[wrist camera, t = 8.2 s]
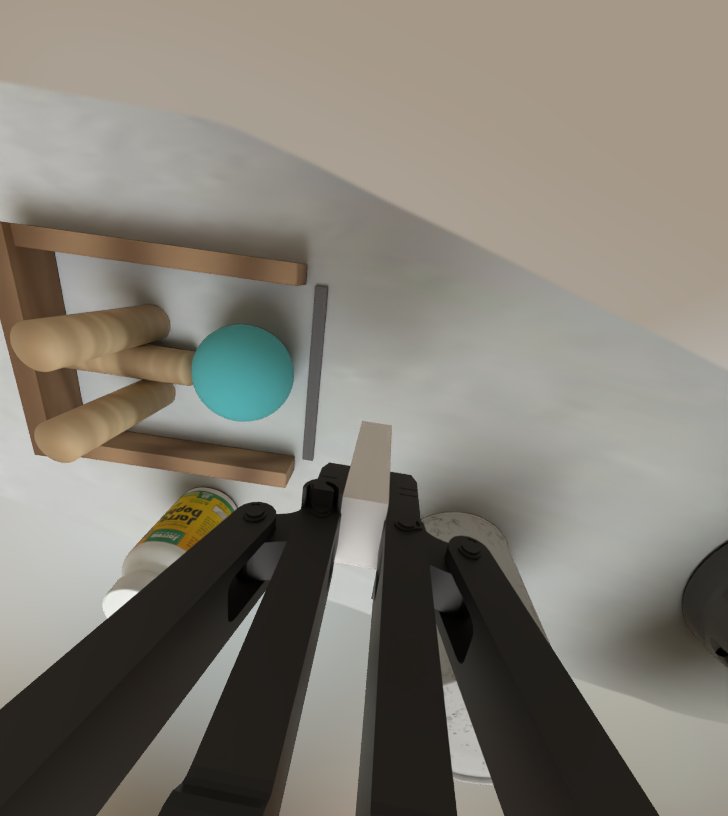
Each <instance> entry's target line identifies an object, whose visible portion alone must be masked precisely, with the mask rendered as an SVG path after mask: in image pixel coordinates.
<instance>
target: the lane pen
mask: <svg viewBox="0 0 728 816" xmlns="http://www.w3.org/2000/svg"><path fill="white" fill-rule="evenodd" d="M54 251H55V252H62V253H69V254H76V255H83V256H90V257H97V258H104V259H111V260H118V261H125V262H132V263H139V264H146V265H153V266H160V267H167V268H174V269H182V270H189V271H196V272H203V273H210V274H217V275H224V276H231V277H238V278H245V279H252V280H259V281H266V282H273V283H280V284H287V285H294V286H299V285H306V276H307V265H306V264H299V263H292V262H285V261H278V260H271V259H264V258H257V257H250V256H243V255H236V254H228V253H221V252H214V251H207V250H200V249H193V248H186V247H179V246H172V245H165V244H158V243H150V242H143V241H136V240H129V239H122V238H115V237H108V236H101V235H94V234H87V233H80V232H72V231H65V230H58V229H51V228H44V227H37V226H30V225H23V224H15V223H8V222H1V221H0V320H1V324H2V328H3V332H4V336H5V340H6V344H7V347H8V351H9V355H10V359H11V363H12V367H13V371H14V375H15V379H16V383H17V387H18V391H19V394H20V398H21V402H22V406H23V410H24V414H25V418H26V422H27V426H28V430H29V434H30V438H31V442H32V445H33V449H34V453H35V455H41V456H46V455H45V454H44V453H43V452H42V451H41V450H40V449H39V447H38V446H37V444H36V441H35V437H34V432H35V429H36V427H37V426H38V425H39V424H40V423H42V422H44V421H47V420H49V419H51V418H54V417H56V416H58V415H61V414H63V413H65V412H68V411H70V410H72V409H75V408H77V407H79V406H82V400H81V394H80V389H79V383H78V378H77V373H76V369H70V368H65V367H64V368H60V369H57V370H53V371H50V372H41V371H37V370H34V369H32V368H30V367H28V366H27V365H25V364H24V363H23V362H22V361H21V360H20V359H19V358H18V357H17V355H16V354H15V352H14V350H13V348H12V345H11V342H10V332H11V329H12V327H13V326H14V325H15V324H16V323H18V322H20V321H23V320H31V319H39V318H47V317H55V316H63V315H66V313H65V308H64V302H63V297H62V292H61V286H60V281H59V275H58V270H57V265H56V259H55V254H54ZM82 457H83V458H90V459H96V460H103V461H109V462H116V463H123V464H129V465H136V466H143V467H149V468H156V469H162V470H169V471H176V472H182V473H189V474H196V475H202V476H209V477H216V478H222V479H229V480H235V481H242V482H249V483H255V484H262V485H269V486H275V487H282V488H285V487H286V485H287V483H288V481H289V479H290V477H291V475H292V473H293V471H294V462H295V457H293V456H287V455H280V454H273V453H267V452H260V451H253V450H246V449H240V448H233V447H226V446H220V445H213V444H206V443H200V442H193V441H186V440H180V439H173V438H166V437H159V436H153V435H146V434H139V433H133V432H126V431H124V432H122V433H120V434H119V435H117V436H115V437H114V438H112V439H110V440H108V441H107V442H105V443H103V444H102V445H100V446H98V447H97V448H95V449H93V450H92V451H90V452H88V453H87V454H85V455H83V456H82Z"/></svg>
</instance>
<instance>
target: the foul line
mask: <svg viewBox="0 0 728 816" xmlns="http://www.w3.org/2000/svg"><path fill="white" fill-rule="evenodd" d="M327 295H328V288H327V287H319V286H315V296H314V310H313V324H312V337H311V351H310V364H309V378H308V391H307V405H306V418H305V432H304V445H303V459H304V460H311V461H313V456H314V444H315V433H316V421H317V410H318V398H319V387H320V375H321V364H322V352H323V341H324V329H325V318H326V306H327Z"/></svg>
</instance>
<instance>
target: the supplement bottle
mask: <svg viewBox="0 0 728 816" xmlns="http://www.w3.org/2000/svg"><path fill="white" fill-rule="evenodd" d="M236 509H237V508H236V506H235V504H234V503H233V501H232V500H231V499H230V498H229V497H228V496H226V495H225V494H223V493H222V492H220V491H217V490H214V489H211V488H204V487H202V488H195V489H192V490H190V491H187V492H186V493H185V494H184V495H182V497H181V498H179V499H178V501H177V502H176V503H175V504H174V505H173V506H172V507H171V508H170V509H169V510H168V511H167V512H166V513H165V515H164V516H163V517H162V518H161V519H160V520H159V521H158V522H157V523H156V524H155V525H154V526H153V527H152V528H151V530H150V531H149V532H148V533H147V534H146V535H145V536H144V537H143V538H142V539H141V540H140V541H139V542H138V544H137V545H136V546H135V547H134V548H133V549H132V550H131V551H130V552H129V554H128V555H127V556H126V558H125V560H124V563H123V566H122V577H121V578H120V579H119V580H118V581H117V582H116V583H115V585H114V586H113V587H112V588H111V589H110V591H109V592H108V593H107V594H106V596H105V597H104V599H103V602H102V608H103V611H104V613H105V615H106V617H107V618H109V617H110V616H111V615H112V614H113V613H115V612H116V611H117V610H118V609H119V608H120V607H122V606H123V605H124V604H125V603H126V602H128V601H129V600H130V599H131V598H132V597H133V596H135V595H136V594H137V593H138V592H139V591H141V590H142V589H143V588H144V587H145V586H146V585H148V584H149V583H150V582H151V581H152V580H153V579H155V578H156V577H157V576H158V575H159V574H161V573H162V572H163V571H164V570H165V569H166V568H168V567H169V566H170V565H171V564H172V563H174V562H175V561H176V560H177V559H178V558H179V557H181V556H182V555H183V554H184V553H185V552H186V551H188V550H189V549H190V548H191V547H192V546H194V545H195V544H196V543H197V542H198V541H199V540H201V539H202V538H203V537H204V536H205V535H207V534H208V533H209V532H210V531H211V530H212V529H214V528H215V527H216V526H217V525H218V524H220V523H221V522H222V521H223V520H224V519H225V518H227V517H228V516H229V515H230V514H231V513H232V512H234V511H235V510H236Z"/></svg>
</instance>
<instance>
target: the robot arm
mask: <svg viewBox="0 0 728 816" xmlns="http://www.w3.org/2000/svg"><path fill="white" fill-rule="evenodd" d="M391 435H392V426H391V425H384V424H378V423H372V422H366V421H362V424H361V428H360V432H359V436H358V440H357V443H356V447H355V451H354V455H353V459H352V463H351V466H347V465H341V464H335V463H328V464H327V465H325V466H324V467H323V468H322V470H321V472H320V474H319V477H318V479H314V480H311V481H309V482H307V483H306V484H305V485H304V486H303V494H302V506H301V510H299V511H297V512H293V513H288V514H276V510H275V509H274V508H273V506H271V505H269V504H267V503H262V502H251V503H247V504H244V505H242V506H240V507H239V508H237V509H236V510H235V511H234V512H232V513H231V514H230V515H229V516H228V517H227V518H225V519H224V520H223V521H222V522H221V523H220V524H218V525H217V526H216V527H215V528H214V529H212V530H211V531H210V532H209V533H208V534H207V535H205V536H204V537H203V538H202V539H201V540H199V541H198V542H197V543H196V544H195V545H194V546H192V547H191V548H190V549H189V550H188V551H186V552H185V553H184V554H183V555H182V556H181V557H179V558H178V559H177V560H176V561H175V562H174V563H172V564H171V565H170V566H169V567H168V568H166V569H165V570H164V571H163V572H162V573H161V574H159V575H158V576H157V577H156V578H155V579H153V580H152V581H151V582H150V583H149V584H148V585H146V586H145V587H144V588H143V589H142V590H141V591H139V592H138V593H137V594H136V595H135V596H133V597H132V598H131V599H130V600H129V601H128V602H126V603H125V604H124V605H123V606H122V607H120V608H119V609H118V610H117V611H116V612H115V613H113V614H112V615H111V616H110V617H109V618H107V620H105V621H104V622H103V623H102V624H100V625H99V626H98V627H97V628H96V629H95V630H93V631H92V632H91V633H90V634H89V635H87V636H86V637H85V638H84V639H83V640H82V641H80V642H79V643H78V644H77V645H76V646H74V647H73V648H72V649H71V650H70V651H69V652H67V653H66V654H65V655H64V656H63V657H62V658H60V659H59V660H58V661H57V662H56V663H54V664H53V665H52V666H51V667H50V668H49V669H47V670H46V671H45V672H44V673H43V674H41V675H40V676H39V677H38V678H37V679H36V680H34V681H33V682H32V683H31V684H30V685H29V686H27V687H26V688H25V689H24V690H23V691H21V692H20V693H19V694H18V695H17V696H16V697H14V698H13V699H12V700H11V701H10V702H9V703H7V704H6V705H5V706H4V707H3V708H2V709H0V816H96V815H97V814H98V813H99V811H100V810H101V809H102V807H103V806H104V804H105V803H106V802H107V801H108V799H109V798H110V797H111V795H112V794H113V793H114V791H115V790H116V789H117V787H118V786H119V785H120V783H121V782H122V780H123V779H124V778H125V776H126V775H127V774H128V773H129V771H130V770H131V769H132V767H133V766H134V765H135V763H136V762H137V761H138V759H139V758H140V757H141V755H142V754H143V753H144V751H145V750H146V749H147V747H148V746H149V745H150V743H151V742H152V741H153V740H154V738H155V737H156V736H157V734H158V733H159V731H160V730H161V729H162V727H163V726H164V725H165V724H166V722H167V721H168V720H169V718H170V717H171V715H172V714H173V713H174V712H175V710H176V709H177V708H178V706H179V705H180V704H181V702H182V700H183V699H184V698H185V697H186V695H187V694H188V693H189V692H190V690H191V689H192V687H193V686H194V685H195V684H196V682H197V681H198V680H199V678H200V677H201V676H202V674H203V673H204V672H205V670H206V669H207V668H208V666H209V665H210V664H211V662H212V661H213V660H214V658H215V657H216V656H217V654H218V653H219V652H220V650H221V649H222V647H224V645H225V644H226V643H227V641H228V640H229V638H230V637H231V636H232V635H233V633H234V632H235V630H236V629H237V628H238V627H239V625H240V624H241V623H242V621H243V620H244V619H245V617H246V616H247V615H248V613H249V612H250V611H251V609H252V608H253V607H254V605H255V604H256V603H257V601H258V600H259V599H260V597H261V596H262V595H263V593H264V592H265V594H264V596H263V599H262V601H261V603H260V606H259V608H258V610H257V613H256V615H255V617H254V620H253V622H252V624H251V627H250V629H249V631H248V634H247V636H246V638H245V641H244V643H243V645H242V648H241V650H240V652H239V655H238V657H237V660H236V662H235V665H234V667H233V669H232V671H231V673H230V676H229V678H228V680H227V683H226V685H225V688H224V690H223V692H222V695H221V697H220V699H219V702H218V704H217V706H216V709H215V711H214V713H213V716H212V718H211V720H210V723H209V725H208V727H207V730H206V732H205V734H204V737H203V739H202V741H201V744H200V746H199V748H198V751H197V753H196V756H195V758H194V760H193V762H192V765H191V767H190V769H189V771H188V773H187V776H186V777H185V779H184V781H183V782H182V783H181V784H180V785H179V786H178V787H176V789H174V790H173V791H172V792H171V794H170V796H169V797H168V799H167V800H166V802H165V803H164V805H163V807H162V809H161V811H160V813H159V815H158V816H279V812H280V808H281V803H282V798H283V794H284V790H285V785H286V781H287V776H288V772H289V767H290V763H291V758H292V754H293V749H294V745H295V740H296V736H297V731H298V727H299V722H300V718H301V713H302V709H303V704H304V700H305V695H306V691H307V686H308V682H309V677H310V673H311V668H312V664H313V659H314V655H315V650H316V646H317V641H318V637H319V632H320V627H321V623H322V619H323V613H324V610H325V605H326V601H327V596H328V592H329V587H330V583H331V578H332V573H333V565H334V562H337V563H343V564H348V565H354V566H360V567H365V568H371V569H377V571H376V577H375V582H374V587H373V593H372V598H371V599H373V607H372V619H371V632H370V644H369V657H368V669H367V681H366V694H365V707H364V718H363V731H362V742H361V755H360V767H359V779H358V792H357V804H356V816H457V810H456V800H455V792H454V782H453V773H452V764H451V755H450V746H449V737H448V727H447V718H446V709H445V700H444V691H443V682H442V673H441V664H440V655H439V646H438V637H437V628H438V631H439V633H440V636H441V639H442V642H443V645H444V647H445V650H446V653H447V656H448V659H449V662H450V664H451V667H452V670H453V673H454V676H455V678H456V681H457V684H458V687H459V690H460V692H461V695H462V698H463V701H464V704H465V706H466V709H467V712H468V715H469V718H470V720H471V723H472V726H473V729H474V732H475V734H476V737H477V740H478V743H479V746H480V748H481V751H482V754H483V757H484V760H485V763H486V765H487V768H488V771H489V774H490V777H491V779H492V782H493V785H494V788H495V790H496V793H497V796H498V799H499V802H500V804H501V807H502V810H503V813H504V816H659V814H658V813H657V811H656V810H655V808H654V807H653V805H652V803H651V802H650V800H649V799H648V797H647V796H646V794H645V792H644V791H643V789H642V788H641V786H640V785H639V783H638V782H637V780H636V778H635V777H634V775H633V774H632V772H631V771H630V769H629V768H628V766H627V764H626V763H625V761H624V760H623V758H622V757H621V755H620V754H619V752H618V750H617V749H616V747H615V746H614V744H613V743H612V741H611V740H610V738H609V736H608V735H607V733H606V732H605V730H604V729H603V727H602V725H601V724H600V722H599V721H598V719H597V718H596V716H595V715H594V713H593V711H592V710H591V708H590V707H589V705H588V704H587V702H586V701H585V699H584V697H583V696H582V694H581V693H580V691H579V690H578V688H577V687H576V685H575V683H574V682H573V680H572V679H571V677H570V676H569V674H568V672H567V671H566V669H565V668H564V666H563V665H562V663H561V662H560V660H559V658H558V657H557V655H556V654H555V652H554V651H553V649H552V647H551V646H550V644H549V643H548V641H547V640H546V638H545V637H544V635H543V633H542V632H541V630H540V629H539V627H538V626H537V624H536V623H535V621H534V619H533V618H532V616H531V615H530V613H529V612H528V610H527V609H526V607H525V605H524V604H523V602H522V601H521V599H520V598H519V596H518V594H517V593H516V591H515V590H514V588H513V587H512V585H511V584H510V582H509V580H508V579H507V577H506V576H505V574H504V573H503V571H502V570H501V568H500V566H499V565H498V563H497V562H496V560H495V559H494V557H493V556H492V554H491V552H490V551H489V550H488V548H487V547H486V546H485V545H484V544H482V543H481V542H479V541H478V540H476V539H474V538H471V537H468V536H454V537H453V538H452V539H450V541H449V543H448V542H445V541H443V540H440V539H438V538H436V537H434V536H432V535H431V534H429V533H428V532H427V531H426V528H425V526H424V523H423V522H422V521H421V520H420V510H419V500H418V492H417V491H418V490H417V482H416V481H415V480H414V478H413V477H412V475H407V474H401V473H395V472H390V459H391ZM682 609H683V615H684V618H685V621H686V623H687V625H688V626H689V628H690V629H691V631H692V632H693V633H694V634H695V635H696V636H697V638H698V639H699V640H700V641H701V642H702V643H703V645H704V646H705V647H706V648H707V649H708V651H709V652H710V653H711V654H712V655H713V656H714V657H715V658H716V659H717V660H719V661H720V662H721V663H722V664H724V665H725V666H726V667H728V544H726V545H725V546H723V547H722V548H720V549H719V550H718V551H716V552H715V553H714V554H713V555H711V556H710V557H709V558H708V559H707V560H706V561H705V562H704V563H703V564H702V565H701V566H700V567H699V568H698V570H697V571H696V572H695V573H694V575H693V576H692V578H691V579H690V581H689V583H688V585H687V587H686V590H685V593H684V596H683V603H682ZM436 625H437V628H436Z"/></svg>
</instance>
